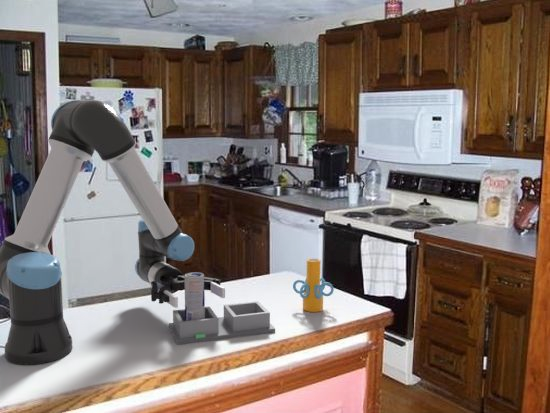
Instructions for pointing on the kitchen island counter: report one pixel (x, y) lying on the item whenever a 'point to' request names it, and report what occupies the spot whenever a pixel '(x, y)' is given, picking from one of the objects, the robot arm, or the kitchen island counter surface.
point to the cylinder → (313, 287)
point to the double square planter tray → (222, 323)
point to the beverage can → (194, 296)
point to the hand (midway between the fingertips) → (200, 297)
